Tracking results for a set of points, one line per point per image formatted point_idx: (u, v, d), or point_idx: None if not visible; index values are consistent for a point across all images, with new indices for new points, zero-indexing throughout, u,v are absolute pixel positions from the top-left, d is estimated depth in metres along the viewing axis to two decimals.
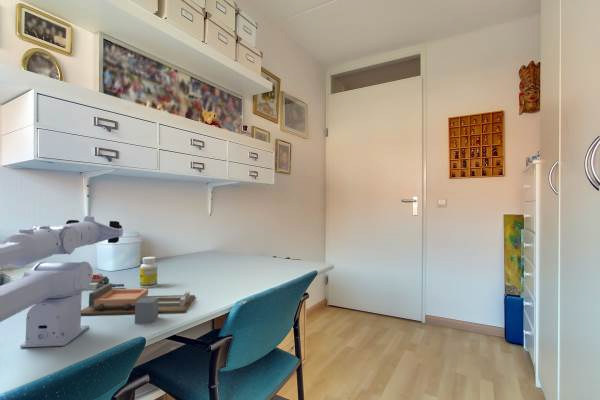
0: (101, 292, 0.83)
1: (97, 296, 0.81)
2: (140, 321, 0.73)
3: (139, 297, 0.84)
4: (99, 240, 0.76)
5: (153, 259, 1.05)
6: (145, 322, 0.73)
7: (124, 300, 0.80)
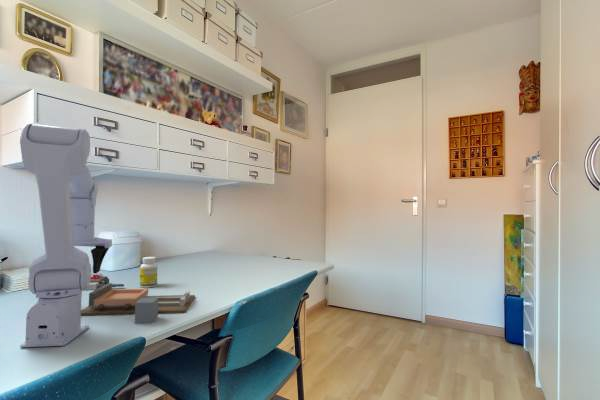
0: (101, 292, 0.83)
1: (97, 296, 0.81)
2: (140, 321, 0.73)
3: (139, 297, 0.84)
4: (88, 241, 0.81)
5: (153, 259, 1.05)
6: (145, 322, 0.73)
7: (124, 300, 0.80)
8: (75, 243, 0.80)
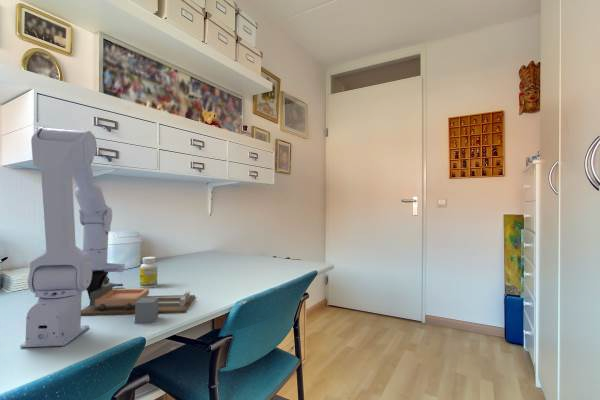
0: (102, 292, 0.83)
1: (98, 296, 0.81)
2: (140, 321, 0.73)
3: (140, 297, 0.84)
4: None
5: (153, 259, 1.05)
6: (145, 322, 0.73)
7: (125, 300, 0.80)
8: None
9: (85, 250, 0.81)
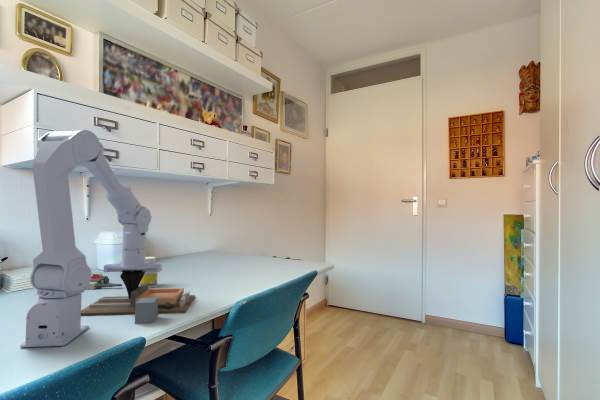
0: (140, 291, 0.84)
1: (138, 295, 0.82)
2: (140, 321, 0.73)
3: (177, 296, 0.85)
4: (140, 266, 0.84)
5: (153, 259, 1.05)
6: (145, 322, 0.73)
7: (164, 299, 0.82)
8: (129, 268, 0.82)
9: (125, 250, 0.83)
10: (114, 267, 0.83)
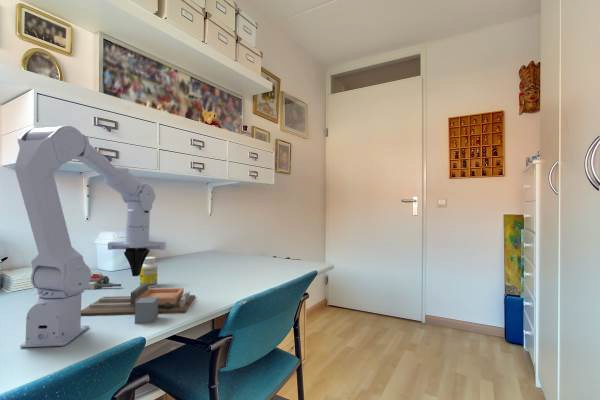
0: (140, 291, 0.84)
1: (137, 295, 0.82)
2: (140, 321, 0.73)
3: (177, 296, 0.85)
4: None
5: (153, 259, 1.05)
6: (145, 322, 0.73)
7: (164, 299, 0.82)
8: (133, 245, 0.82)
9: (129, 227, 0.83)
10: (118, 244, 0.83)
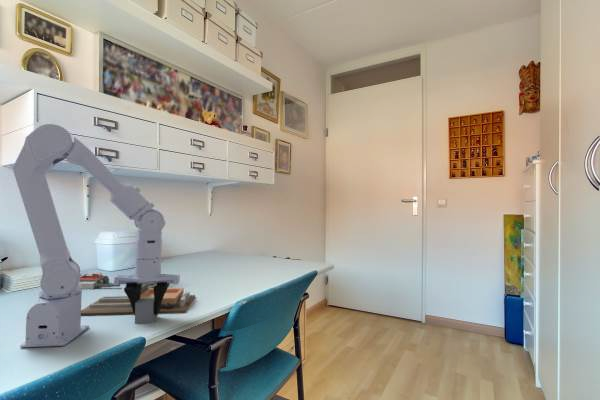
0: None
1: None
2: (140, 321, 0.73)
3: (177, 296, 0.85)
4: (156, 278, 0.73)
5: None
6: (145, 322, 0.73)
7: (164, 299, 0.82)
8: (144, 280, 0.72)
9: (139, 260, 0.72)
10: (126, 279, 0.73)
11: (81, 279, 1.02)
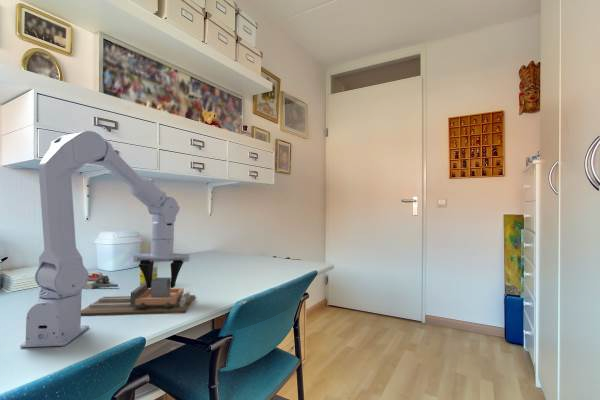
0: (140, 291, 0.84)
1: (137, 295, 0.82)
2: (155, 297, 0.84)
3: (177, 296, 0.85)
4: (170, 256, 0.85)
5: None
6: None
7: (164, 299, 0.82)
8: (159, 257, 0.83)
9: (155, 240, 0.84)
10: (144, 257, 0.84)
11: None
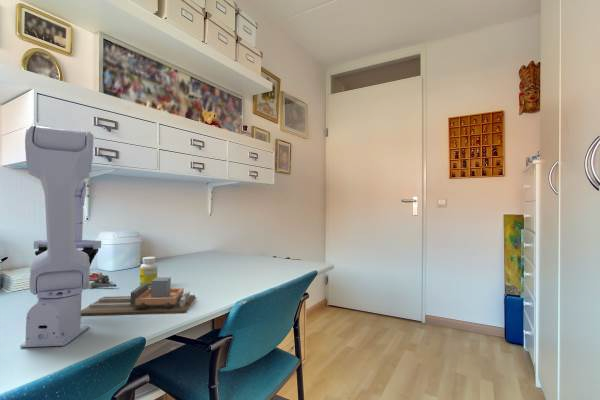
0: (140, 291, 0.84)
1: (137, 295, 0.82)
2: (155, 297, 0.84)
3: (177, 296, 0.85)
4: (75, 242, 0.76)
5: (153, 259, 1.05)
6: None
7: (164, 299, 0.82)
8: None
9: None
10: (45, 243, 0.75)
11: None
